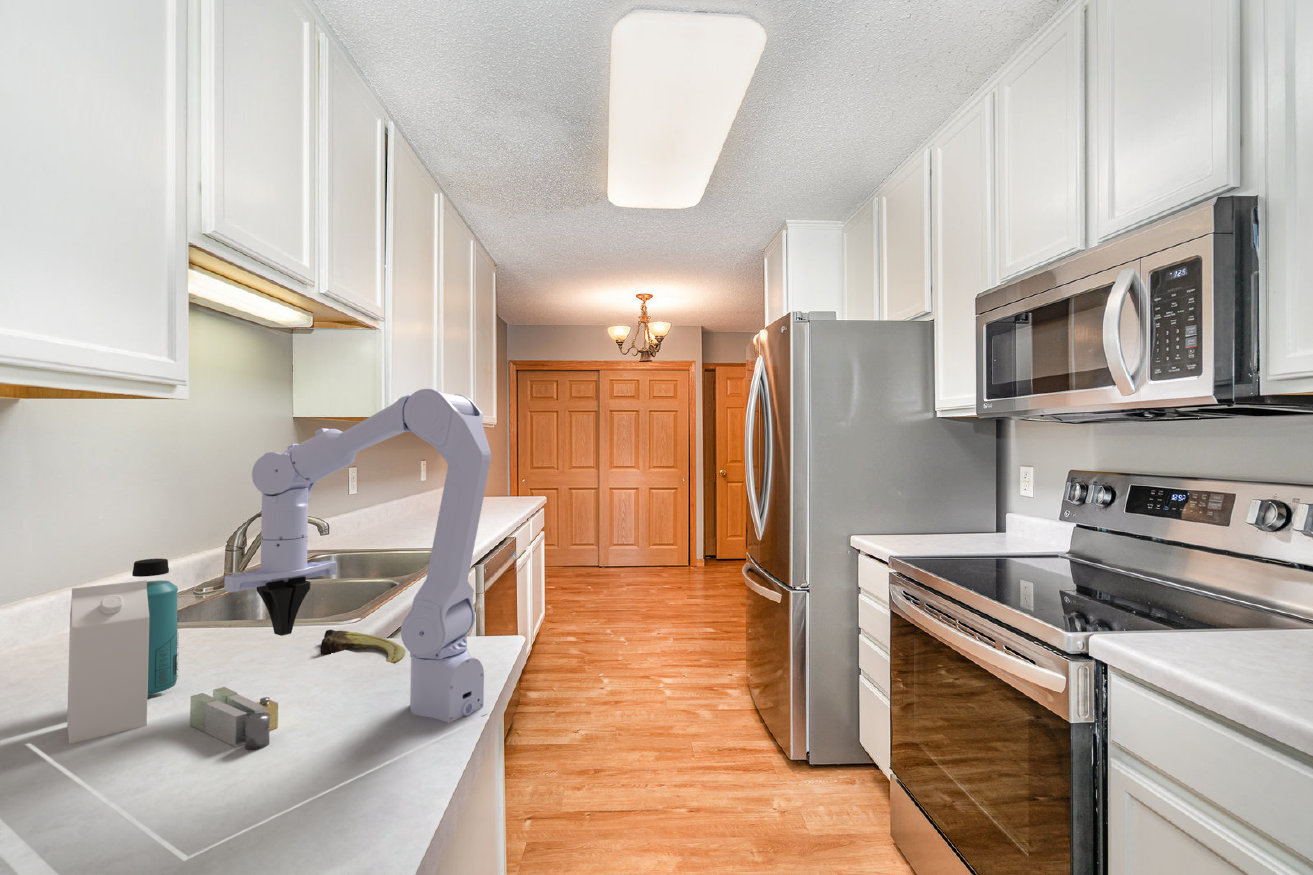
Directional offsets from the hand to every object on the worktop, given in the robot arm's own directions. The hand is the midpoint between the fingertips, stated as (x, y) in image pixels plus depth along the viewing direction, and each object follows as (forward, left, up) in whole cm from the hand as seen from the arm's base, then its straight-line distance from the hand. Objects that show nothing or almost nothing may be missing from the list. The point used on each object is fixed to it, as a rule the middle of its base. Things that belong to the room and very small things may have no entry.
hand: (282, 633), depth 89 cm
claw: (+11, -20, -11) cm, 25 cm away
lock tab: (-10, +7, -8) cm, 15 cm away
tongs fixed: (-8, +10, -9) cm, 16 cm away
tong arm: (-6, +9, -8) cm, 14 cm away
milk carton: (+8, +17, -10) cm, 21 cm away
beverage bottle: (+18, +9, -10) cm, 23 cm away
